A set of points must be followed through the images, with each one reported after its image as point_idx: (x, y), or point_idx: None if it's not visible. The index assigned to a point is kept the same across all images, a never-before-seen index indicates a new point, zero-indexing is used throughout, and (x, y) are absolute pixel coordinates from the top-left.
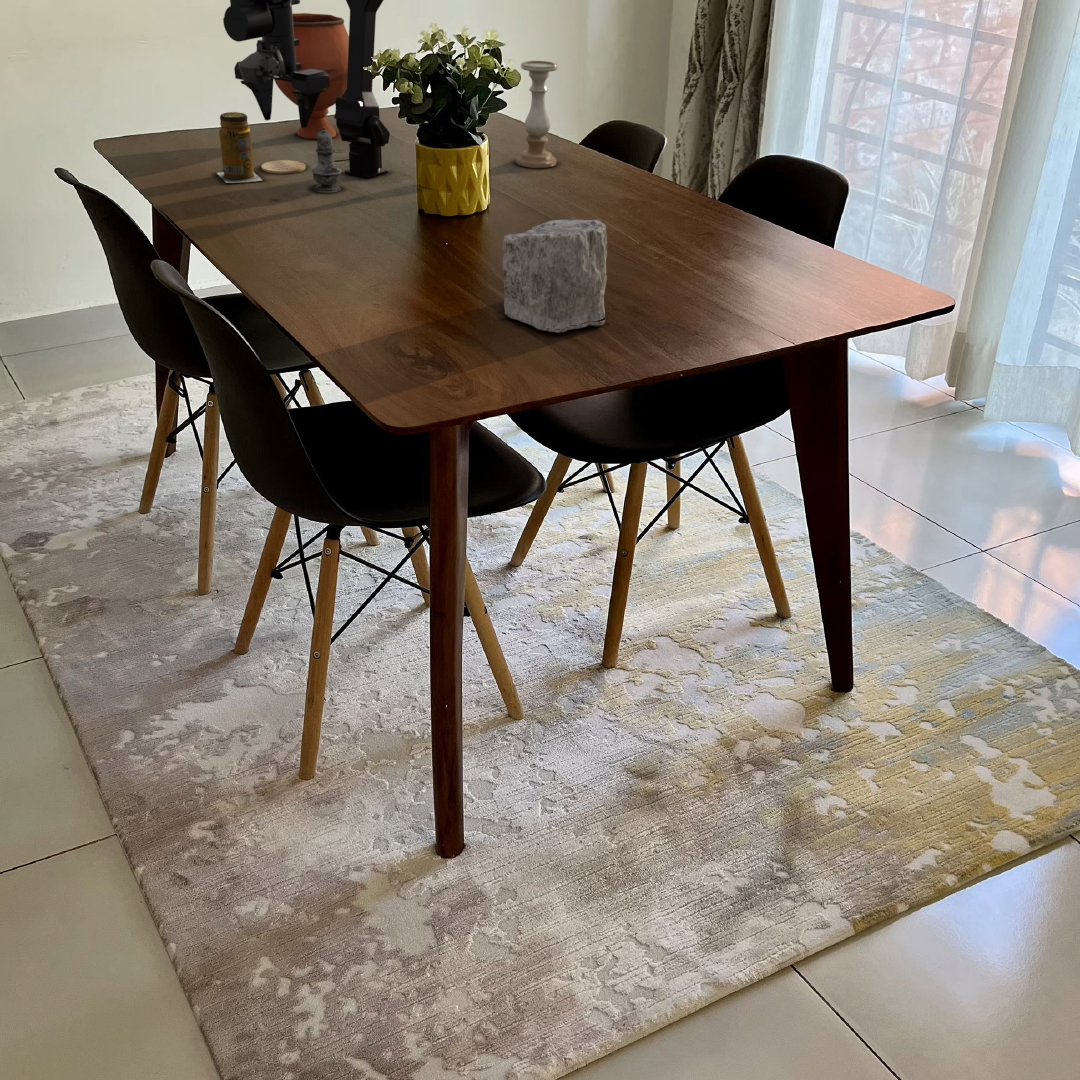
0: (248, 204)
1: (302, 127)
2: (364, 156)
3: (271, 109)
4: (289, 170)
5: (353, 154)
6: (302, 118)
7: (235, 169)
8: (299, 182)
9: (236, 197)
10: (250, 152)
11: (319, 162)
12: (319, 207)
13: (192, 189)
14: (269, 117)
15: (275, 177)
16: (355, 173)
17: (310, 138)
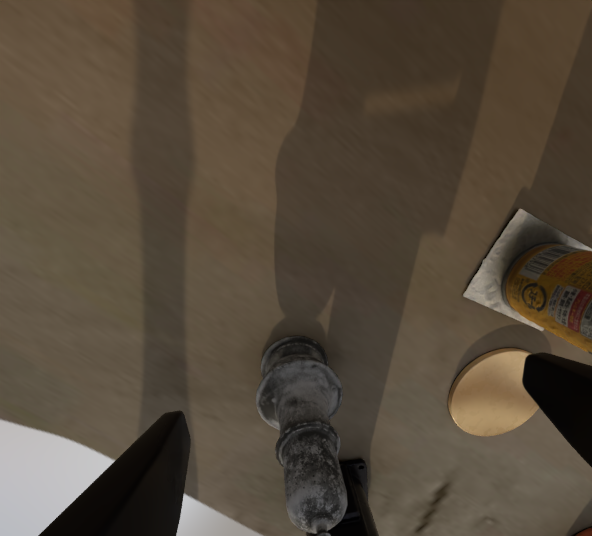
0: (331, 119)
1: (165, 413)
2: None
3: (585, 458)
4: (463, 383)
5: None
6: (99, 477)
7: (544, 260)
8: (387, 352)
9: (409, 143)
10: (561, 326)
11: (306, 399)
12: (171, 253)
13: (561, 102)
14: (536, 390)
15: (460, 336)
16: None
17: (584, 531)
